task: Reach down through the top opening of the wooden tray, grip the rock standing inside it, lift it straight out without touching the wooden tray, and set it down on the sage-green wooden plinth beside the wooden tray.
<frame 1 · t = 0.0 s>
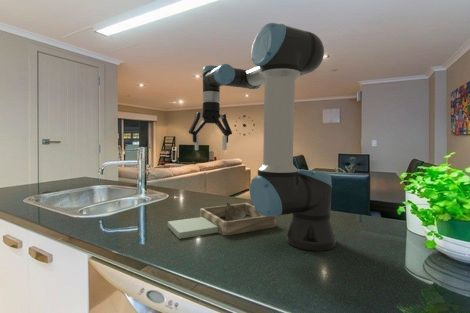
hand: (210, 150, 123), 28 cm above the counter, fingers open, 13 cm apart
ledge: (192, 229, 99), on the counter
wooden tray: (236, 222, 108), on the counter
rock: (236, 223, 108), on the counter
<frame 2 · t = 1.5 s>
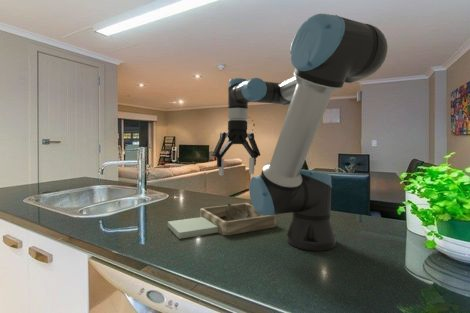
hand: (236, 174, 107), 19 cm above the counter, fingers open, 13 cm apart
rock: (238, 224, 107), on the counter
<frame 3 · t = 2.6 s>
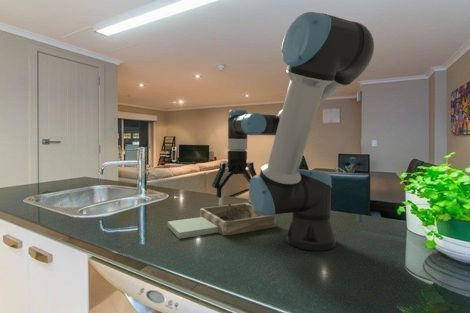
hand: (236, 204, 108), 7 cm above the counter, fingers open, 13 cm apart
nothing on the counter moved.
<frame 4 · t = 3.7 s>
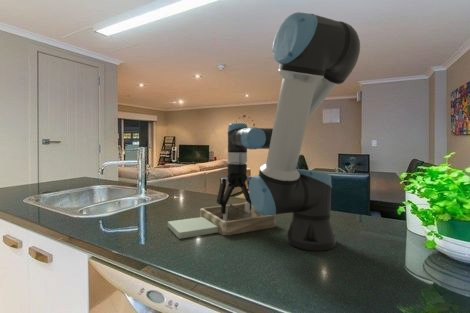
hand: (236, 220, 108), 1 cm above the counter, fingers closed on rock, 9 cm apart
rock: (240, 225, 105), on the counter, touching gripper
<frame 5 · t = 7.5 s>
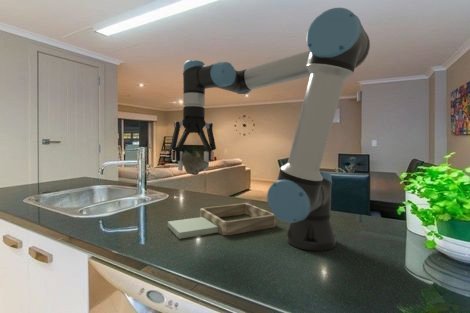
hand: (193, 169, 99), 22 cm above the counter, fingers closed on rock, 9 cm apart
rock: (196, 174, 96), point 20 cm above the counter, touching gripper
when the fingers open (4 cm above the counter, at t = 11.2 s): rock stays where it is, resting on ledge.
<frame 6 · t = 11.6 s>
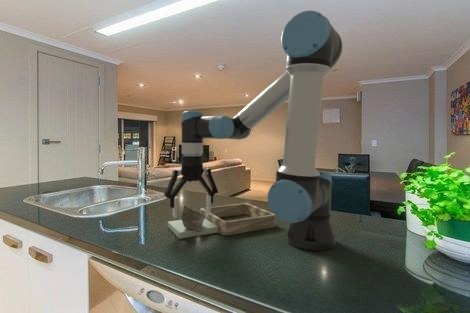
hand: (192, 214, 99), 5 cm above the counter, fingers open, 12 cm apart
rock: (195, 228, 95), point 2 cm above the counter, touching ledge
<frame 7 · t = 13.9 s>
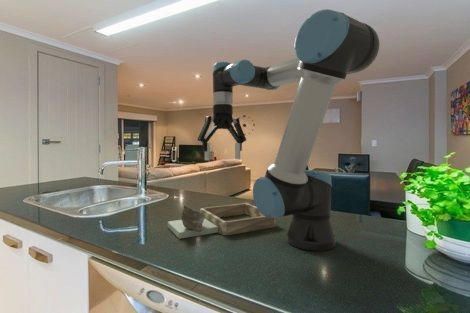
hand: (222, 159, 106), 25 cm above the counter, fingers open, 13 cm apart
nothing on the counter moved.
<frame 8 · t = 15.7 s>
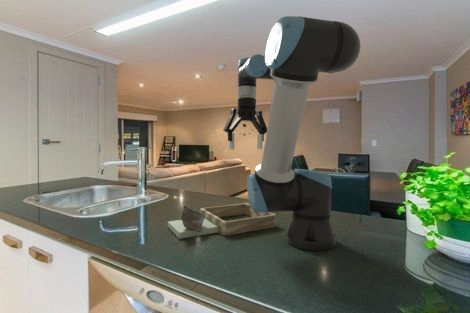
hand: (246, 149, 114), 29 cm above the counter, fingers open, 13 cm apart
nothing on the counter moved.
at the end: rock 4.6 cm from the ledge (horizontally); rock touching ledge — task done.
